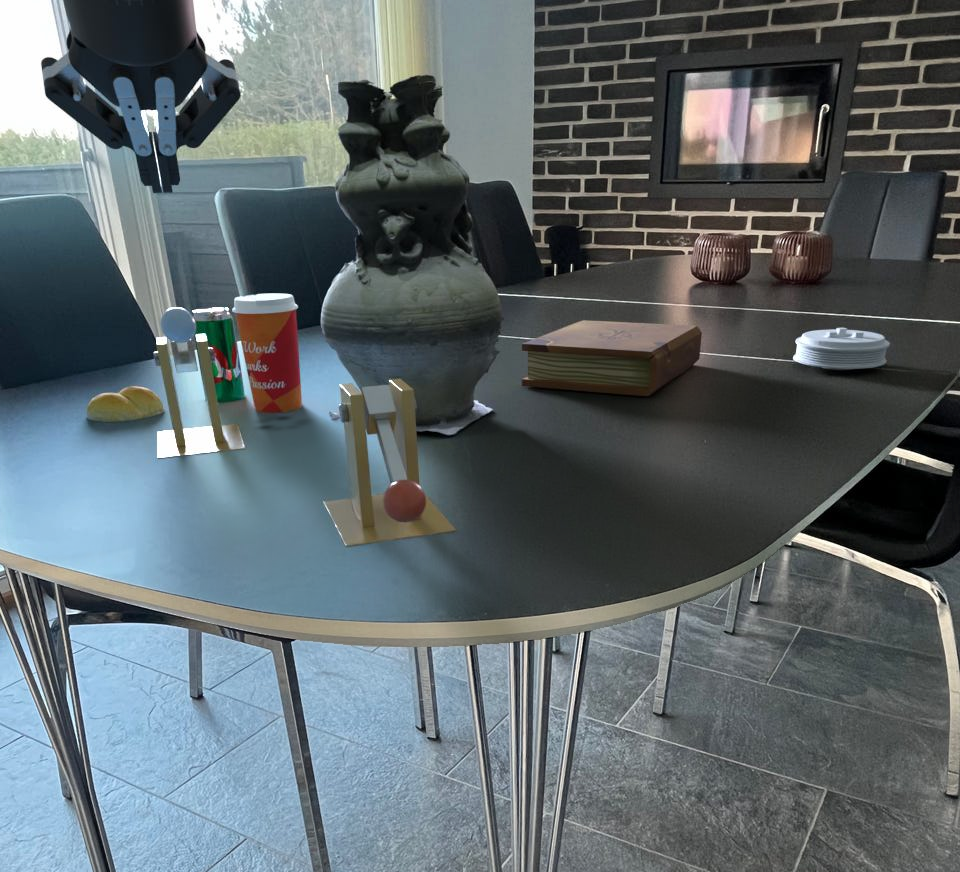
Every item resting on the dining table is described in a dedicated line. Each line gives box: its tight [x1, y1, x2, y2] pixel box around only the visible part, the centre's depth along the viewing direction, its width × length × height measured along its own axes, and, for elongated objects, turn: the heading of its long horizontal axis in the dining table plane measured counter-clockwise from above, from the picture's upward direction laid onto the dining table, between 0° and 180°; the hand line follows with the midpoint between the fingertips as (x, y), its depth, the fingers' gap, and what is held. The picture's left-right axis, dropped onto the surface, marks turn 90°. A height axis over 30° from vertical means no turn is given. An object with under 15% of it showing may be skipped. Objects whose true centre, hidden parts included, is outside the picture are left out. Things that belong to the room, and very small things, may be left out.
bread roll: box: [86, 386, 166, 423], centre depth 106 cm, size 8×9×4 cm
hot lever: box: [360, 385, 426, 523], centre depth 67 cm, size 12×3×3 cm
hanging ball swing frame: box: [153, 334, 246, 459], centre depth 93 cm, size 11×9×12 cm
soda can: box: [192, 306, 246, 404], centre depth 110 cm, size 5×5×12 cm
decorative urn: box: [320, 74, 505, 436], centre depth 98 cm, size 21×21×35 cm
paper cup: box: [231, 292, 303, 414], centre depth 105 cm, size 8×8×14 cm
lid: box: [792, 327, 891, 371], centre depth 125 cm, size 13×13×5 cm
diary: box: [521, 319, 703, 397], centre depth 123 cm, size 23×19×6 cm
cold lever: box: [160, 306, 199, 374], centre depth 86 cm, size 12×3×3 cm, turn 18°
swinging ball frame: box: [323, 379, 457, 548], centre depth 70 cm, size 11×9×12 cm
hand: (161, 184), depth 66 cm, fingers closed
